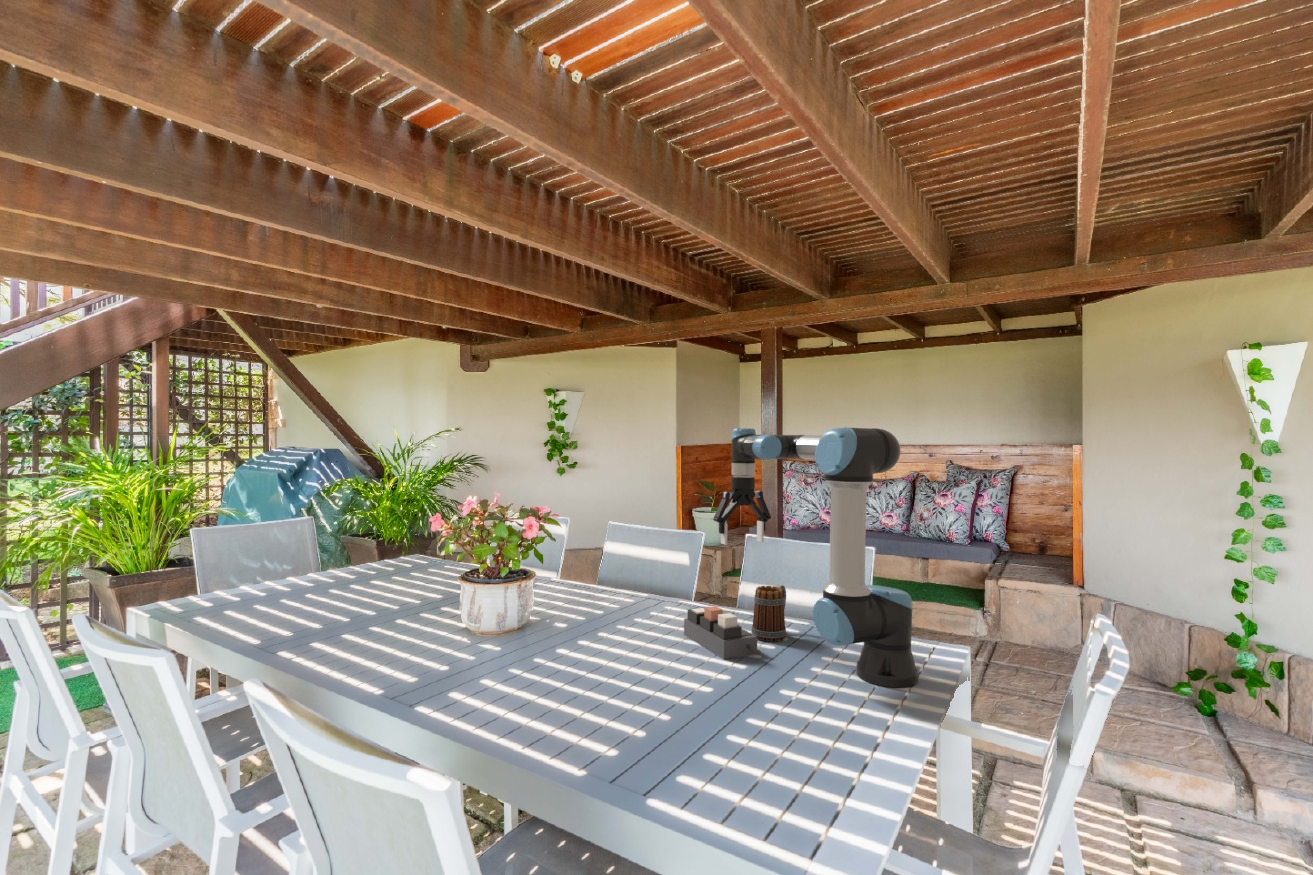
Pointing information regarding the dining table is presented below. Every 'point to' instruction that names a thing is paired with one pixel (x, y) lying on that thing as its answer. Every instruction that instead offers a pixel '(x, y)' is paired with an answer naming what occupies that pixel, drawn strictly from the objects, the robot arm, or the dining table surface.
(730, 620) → the button
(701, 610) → the button
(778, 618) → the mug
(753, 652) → the push button switch box
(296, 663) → the dining table surface
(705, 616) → the button
